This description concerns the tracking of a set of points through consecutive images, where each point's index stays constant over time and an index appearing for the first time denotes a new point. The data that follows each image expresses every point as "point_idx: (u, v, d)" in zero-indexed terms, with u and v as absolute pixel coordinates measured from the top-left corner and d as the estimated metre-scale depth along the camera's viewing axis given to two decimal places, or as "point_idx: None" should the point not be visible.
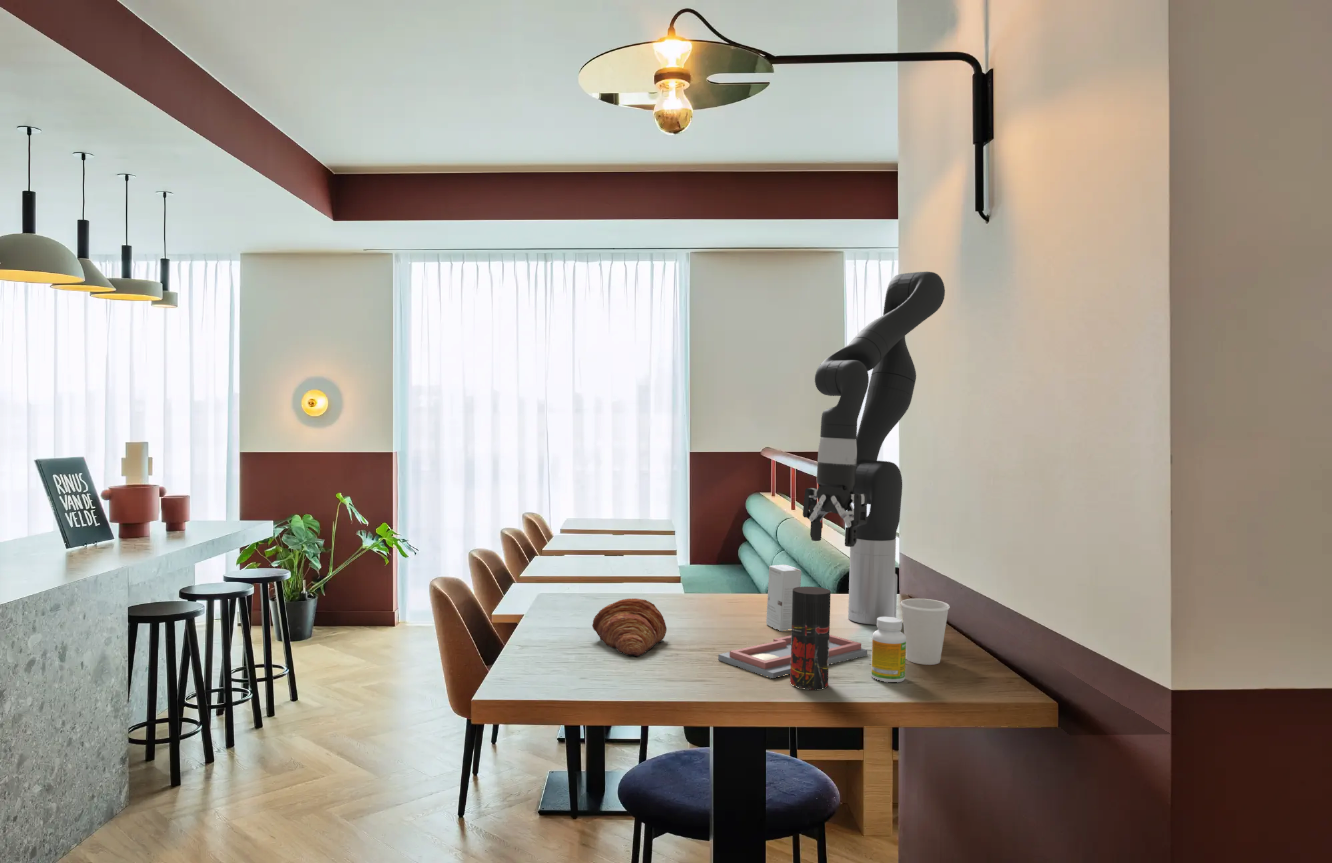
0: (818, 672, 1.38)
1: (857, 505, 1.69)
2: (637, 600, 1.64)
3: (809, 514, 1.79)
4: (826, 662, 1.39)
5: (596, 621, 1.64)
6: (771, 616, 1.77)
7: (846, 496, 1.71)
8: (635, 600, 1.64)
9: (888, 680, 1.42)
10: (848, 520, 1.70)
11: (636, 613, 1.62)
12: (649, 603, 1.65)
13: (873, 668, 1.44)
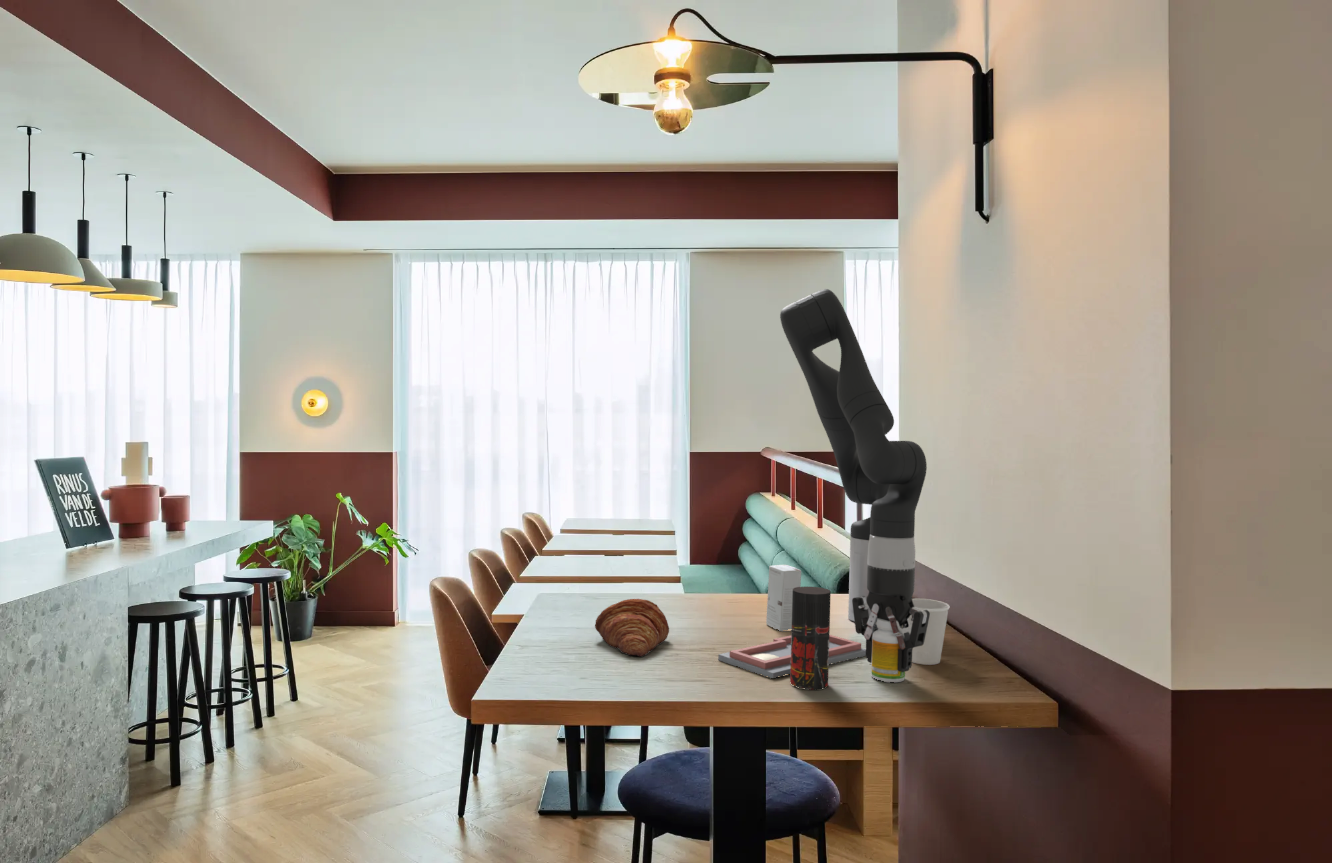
0: (818, 672, 1.38)
1: (917, 626, 1.39)
2: (640, 600, 1.64)
3: (864, 630, 1.48)
4: (826, 662, 1.39)
5: (598, 621, 1.63)
6: (771, 616, 1.77)
7: (904, 609, 1.41)
8: (638, 600, 1.64)
9: (888, 680, 1.42)
10: (902, 641, 1.41)
11: (639, 613, 1.62)
12: (652, 603, 1.65)
13: (873, 668, 1.44)
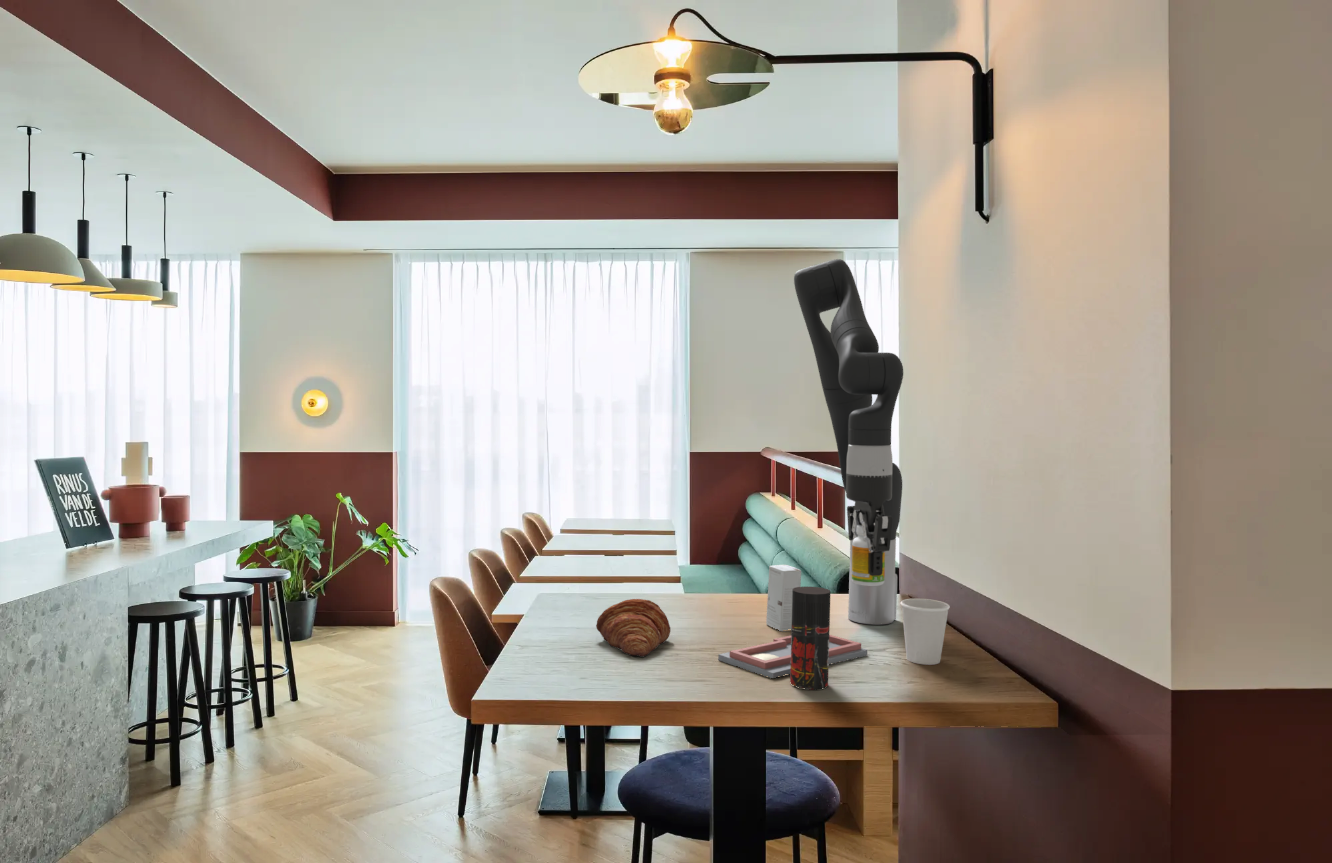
0: (818, 672, 1.38)
1: (876, 529, 1.43)
2: (641, 600, 1.64)
3: None
4: (826, 662, 1.39)
5: (600, 621, 1.63)
6: (771, 616, 1.77)
7: (871, 514, 1.45)
8: (639, 600, 1.64)
9: (860, 582, 1.48)
10: (870, 545, 1.46)
11: (640, 614, 1.62)
12: (653, 603, 1.65)
13: None
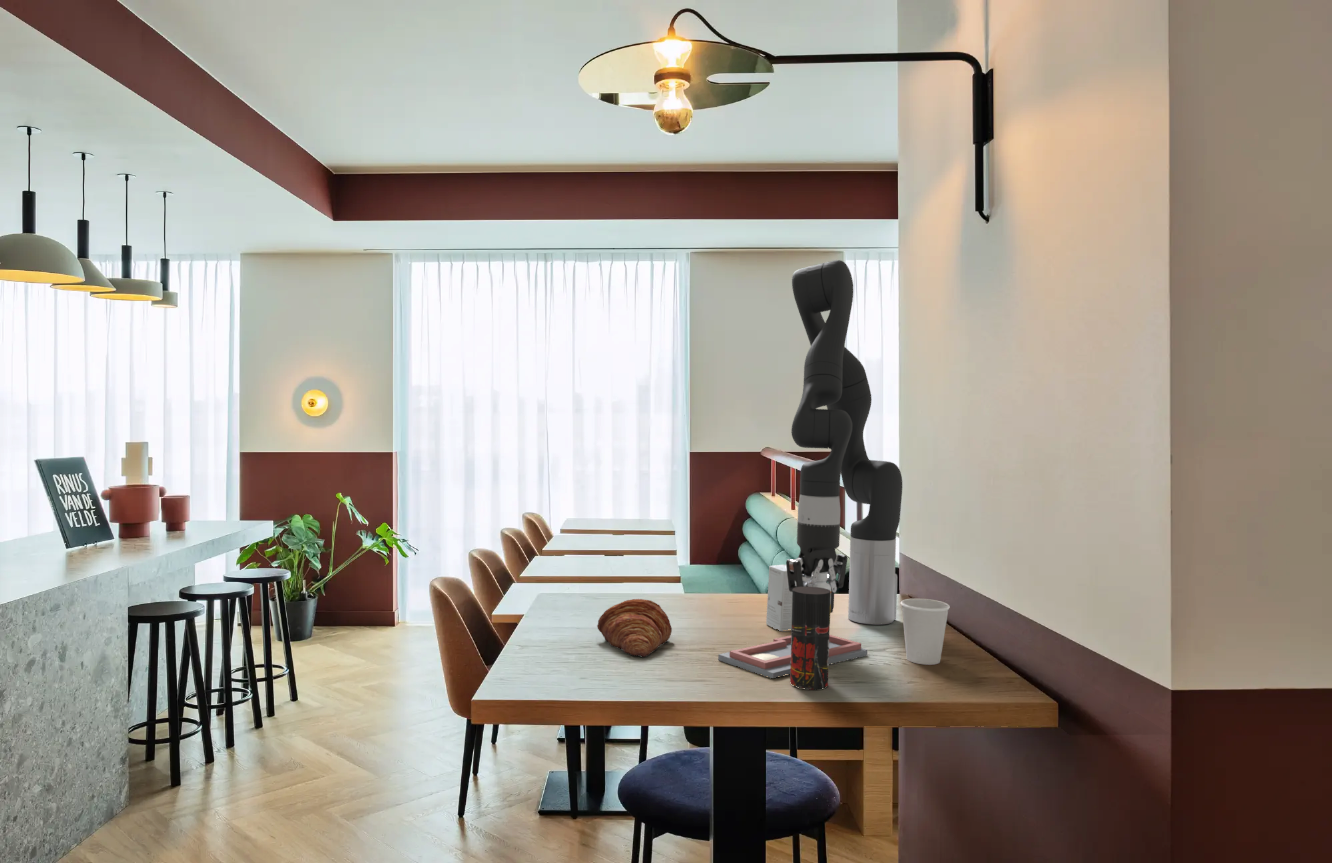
0: (818, 672, 1.38)
1: None
2: (642, 601, 1.64)
3: None
4: (826, 662, 1.39)
5: (601, 622, 1.63)
6: (771, 616, 1.77)
7: None
8: (640, 601, 1.64)
9: None
10: None
11: (641, 614, 1.62)
12: (654, 604, 1.65)
13: None
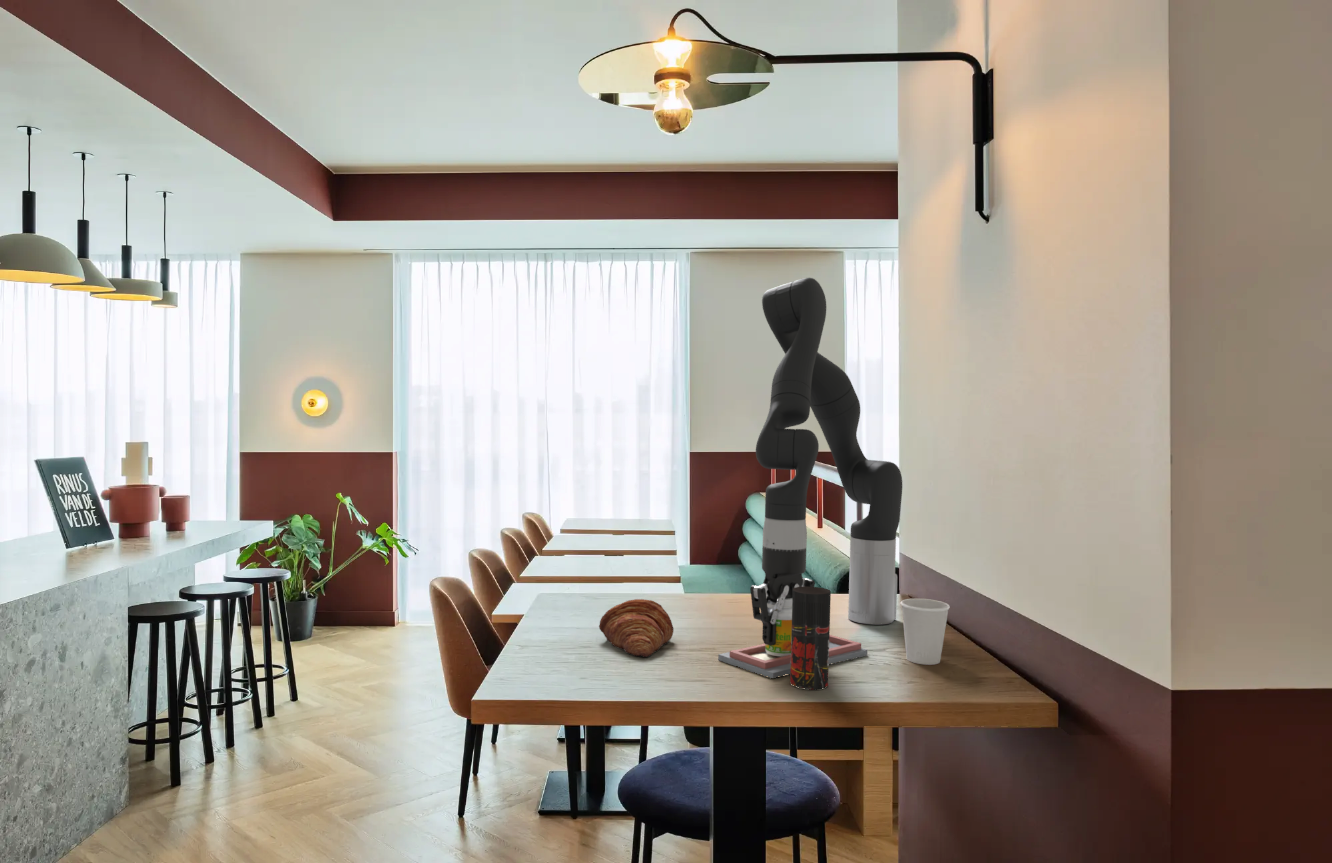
0: (818, 672, 1.38)
1: None
2: (644, 601, 1.64)
3: None
4: (826, 662, 1.39)
5: (603, 622, 1.63)
6: None
7: None
8: (642, 601, 1.64)
9: (765, 649, 1.54)
10: None
11: (643, 614, 1.62)
12: (656, 604, 1.65)
13: None
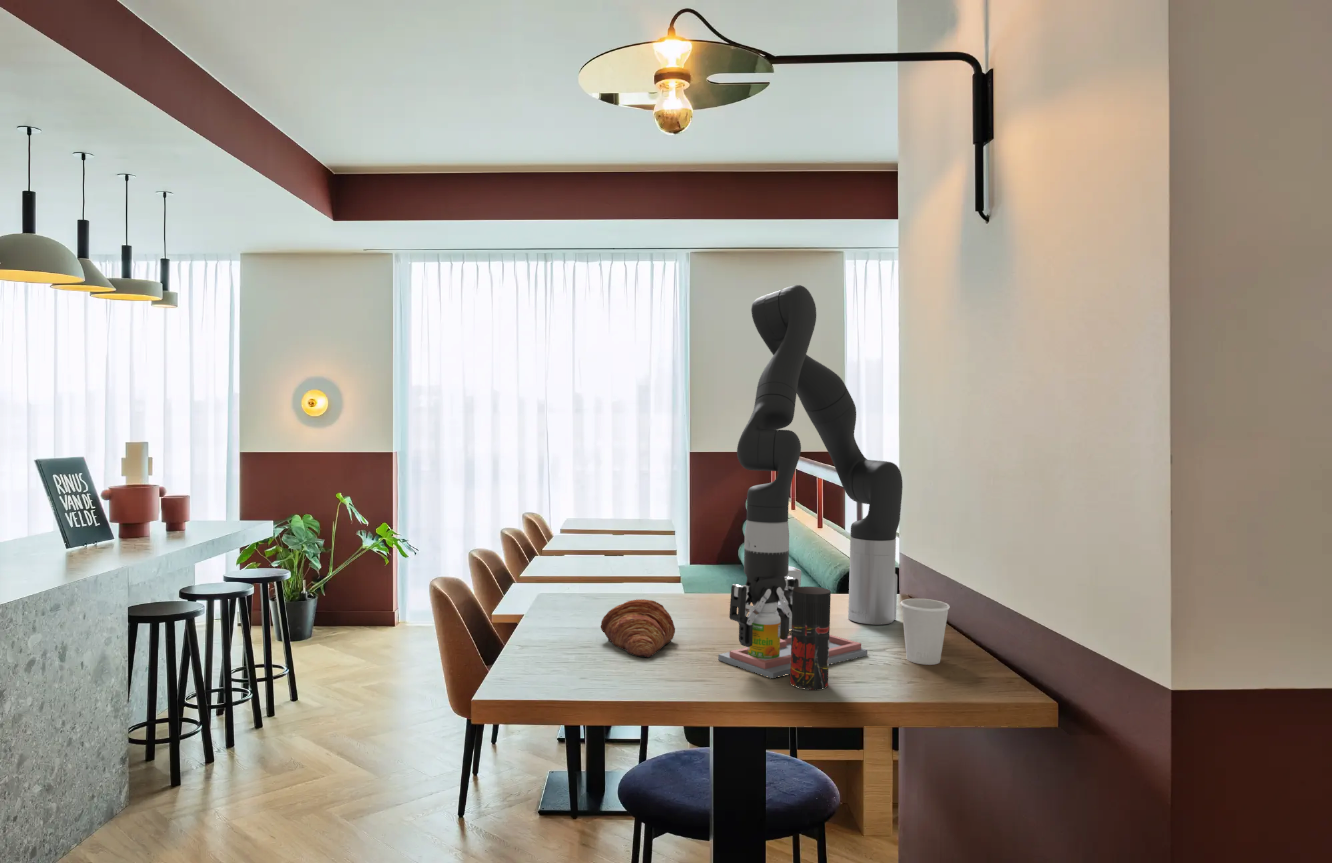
0: (818, 672, 1.38)
1: None
2: (645, 601, 1.63)
3: None
4: (826, 662, 1.39)
5: (604, 622, 1.63)
6: None
7: None
8: (643, 601, 1.63)
9: None
10: None
11: (645, 614, 1.62)
12: (657, 604, 1.65)
13: None
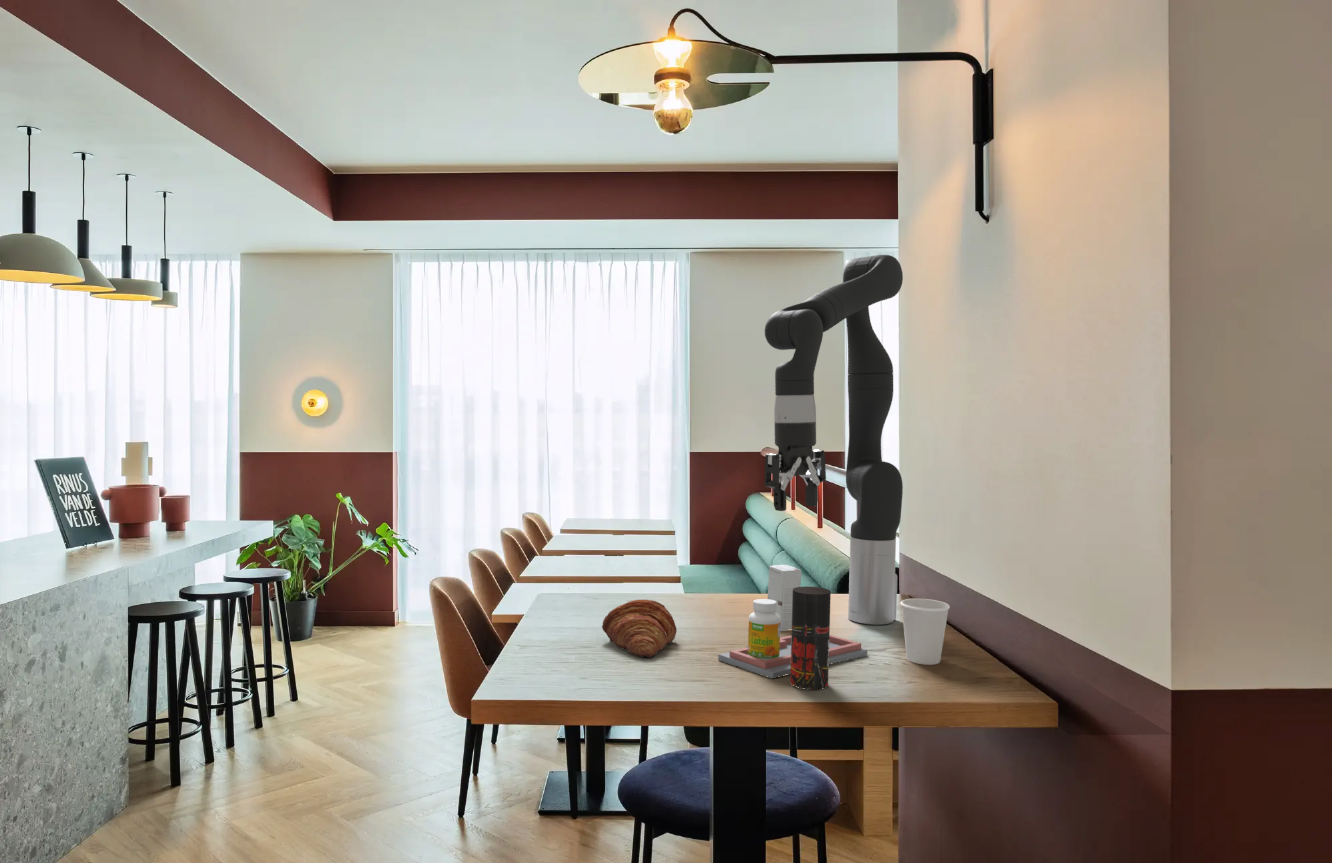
0: (818, 672, 1.38)
1: None
2: (647, 601, 1.63)
3: None
4: (826, 662, 1.39)
5: (606, 622, 1.63)
6: None
7: None
8: (645, 601, 1.63)
9: None
10: None
11: (646, 614, 1.61)
12: (659, 604, 1.65)
13: None
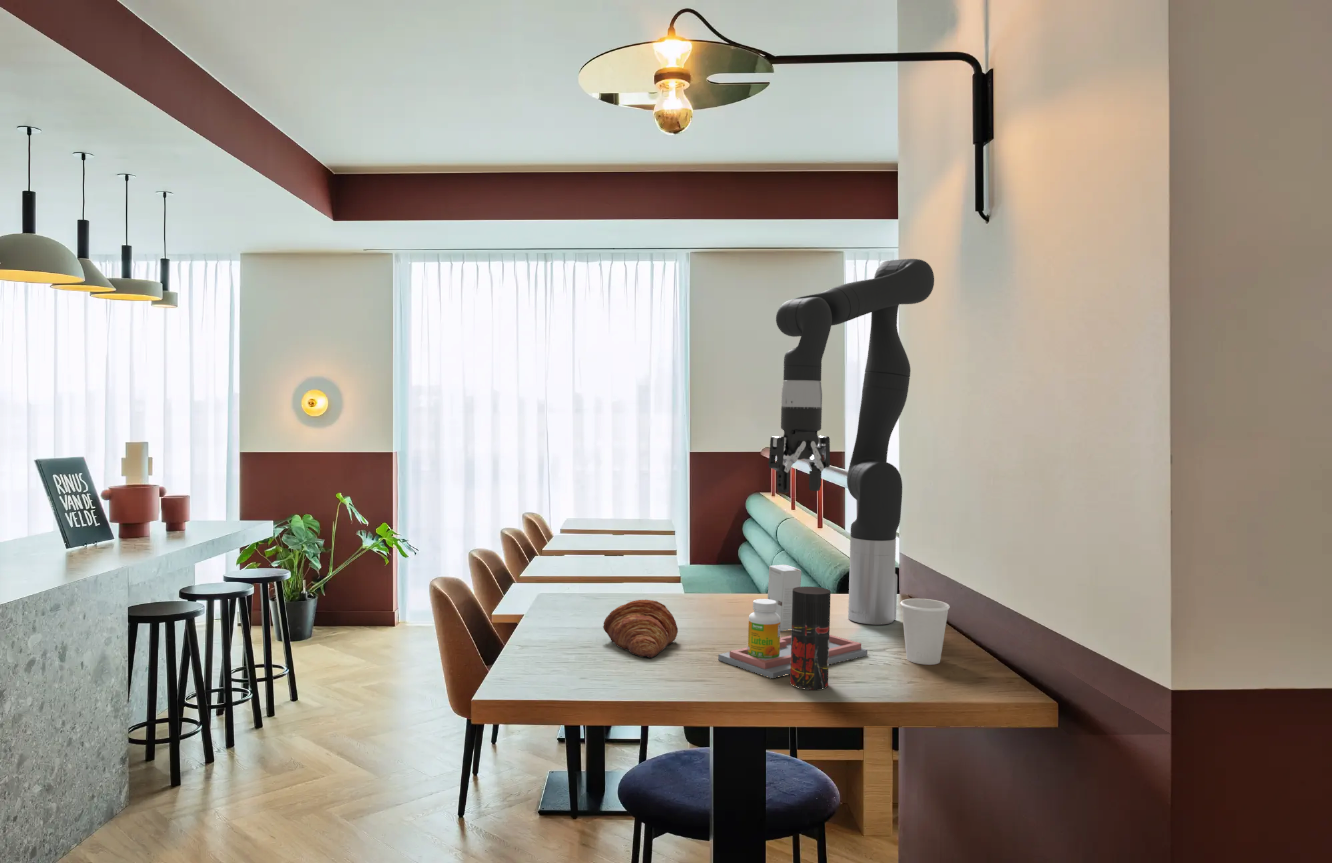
0: (818, 672, 1.38)
1: None
2: (648, 601, 1.63)
3: None
4: (826, 662, 1.39)
5: (607, 622, 1.63)
6: None
7: None
8: (646, 601, 1.63)
9: None
10: None
11: (648, 614, 1.61)
12: (660, 604, 1.65)
13: None
